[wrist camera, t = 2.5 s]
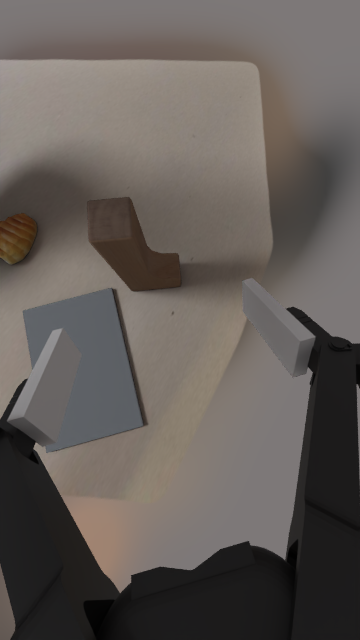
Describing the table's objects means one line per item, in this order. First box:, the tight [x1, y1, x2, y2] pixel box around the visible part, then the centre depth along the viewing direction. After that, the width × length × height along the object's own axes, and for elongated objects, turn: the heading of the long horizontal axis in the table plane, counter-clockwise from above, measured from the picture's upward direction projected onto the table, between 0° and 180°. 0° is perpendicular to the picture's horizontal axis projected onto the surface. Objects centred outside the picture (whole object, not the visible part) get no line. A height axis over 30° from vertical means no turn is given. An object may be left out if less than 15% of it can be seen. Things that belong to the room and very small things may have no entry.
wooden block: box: [87, 197, 181, 291], centre depth 29 cm, size 9×4×18 cm, turn 96°
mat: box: [23, 288, 144, 453], centre depth 36 cm, size 24×16×1 cm, turn 15°
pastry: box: [0, 213, 37, 264], centre depth 38 cm, size 9×7×4 cm
